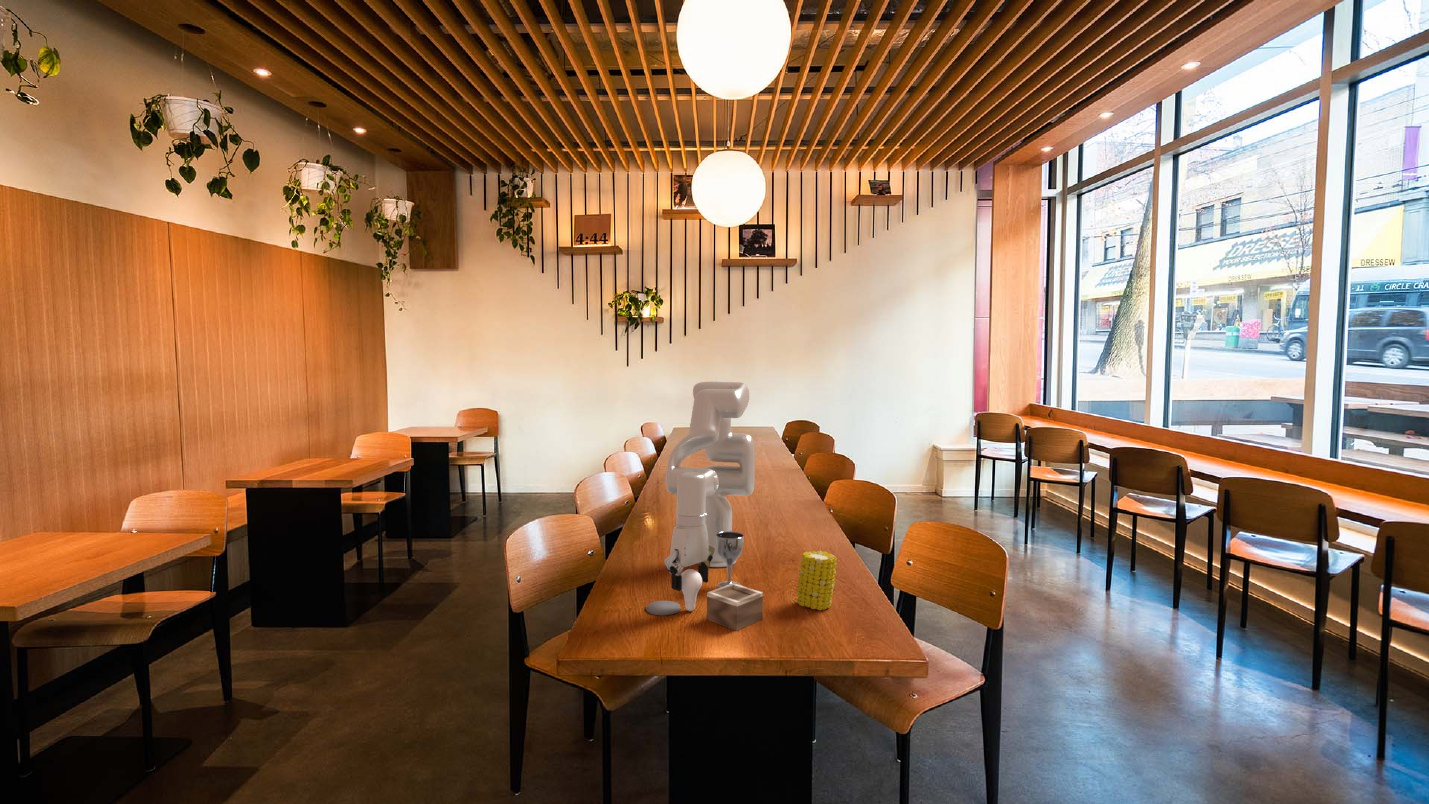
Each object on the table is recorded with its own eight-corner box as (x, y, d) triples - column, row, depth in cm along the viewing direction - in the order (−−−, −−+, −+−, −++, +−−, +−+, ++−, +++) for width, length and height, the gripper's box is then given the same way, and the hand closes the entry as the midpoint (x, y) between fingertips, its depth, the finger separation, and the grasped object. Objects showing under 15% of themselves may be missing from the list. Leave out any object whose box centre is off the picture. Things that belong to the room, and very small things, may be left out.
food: (792, 606, 182) (826, 606, 184) (806, 612, 171) (843, 612, 173) (791, 549, 185) (825, 549, 187) (806, 552, 173) (842, 552, 175)
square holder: (706, 619, 168) (707, 592, 168) (733, 609, 176) (733, 583, 175) (736, 630, 161) (736, 602, 161) (762, 619, 169) (762, 592, 168)
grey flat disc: (639, 611, 173) (639, 609, 173) (658, 600, 181) (658, 598, 181) (668, 618, 169) (668, 615, 169) (686, 606, 177) (686, 604, 177)
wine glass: (746, 582, 196) (746, 532, 195) (738, 591, 189) (739, 539, 188) (720, 579, 199) (721, 530, 198) (711, 588, 191) (712, 536, 190)
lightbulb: (678, 607, 177) (678, 566, 176) (701, 606, 177) (701, 566, 176) (678, 615, 170) (679, 573, 170) (702, 615, 171) (703, 573, 170)
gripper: (703, 513, 181) (702, 575, 182) (656, 523, 168) (655, 589, 169) (724, 517, 176) (723, 581, 177) (676, 528, 163) (675, 596, 164)
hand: (690, 585), depth 173 cm, fingers open, 9 cm apart
